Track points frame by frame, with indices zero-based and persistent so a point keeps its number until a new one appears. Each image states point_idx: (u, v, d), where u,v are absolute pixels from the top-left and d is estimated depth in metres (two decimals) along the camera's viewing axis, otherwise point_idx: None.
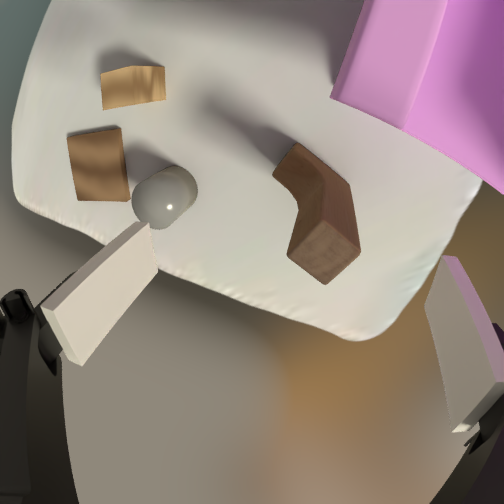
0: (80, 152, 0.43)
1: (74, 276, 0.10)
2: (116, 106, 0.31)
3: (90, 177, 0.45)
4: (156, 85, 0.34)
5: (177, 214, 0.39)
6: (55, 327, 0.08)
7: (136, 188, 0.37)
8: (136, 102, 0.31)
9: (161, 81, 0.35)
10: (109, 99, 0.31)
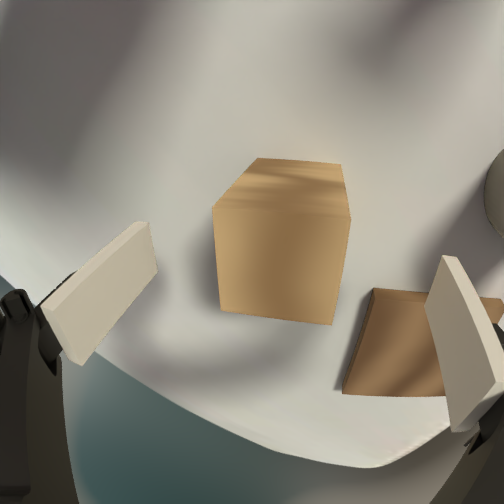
0: (381, 377, 0.23)
1: (74, 276, 0.10)
2: (336, 282, 0.11)
3: (432, 368, 0.22)
4: (299, 170, 0.15)
5: None
6: (55, 326, 0.08)
7: None
8: (343, 211, 0.11)
9: (292, 164, 0.16)
10: (306, 301, 0.12)
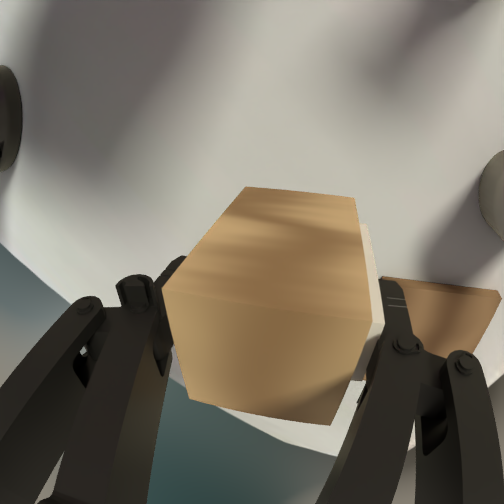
0: None
1: None
2: (341, 388, 0.08)
3: None
4: (299, 211, 0.11)
5: None
6: None
7: None
8: (361, 301, 0.07)
9: (290, 198, 0.13)
10: (298, 404, 0.08)
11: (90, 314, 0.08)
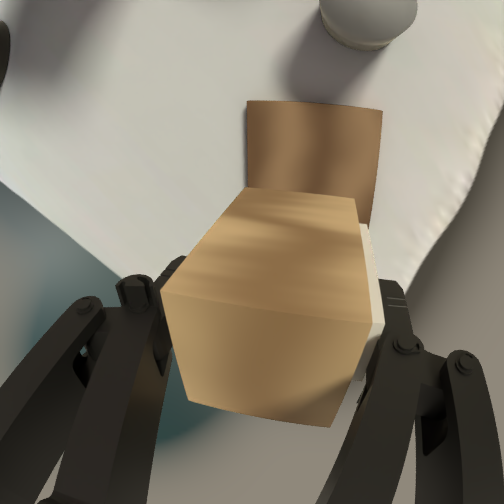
0: None
1: None
2: (340, 390, 0.07)
3: (328, 183, 0.27)
4: (299, 211, 0.11)
5: None
6: None
7: (335, 17, 0.15)
8: (361, 304, 0.07)
9: (290, 199, 0.12)
10: (298, 406, 0.08)
11: (90, 314, 0.08)
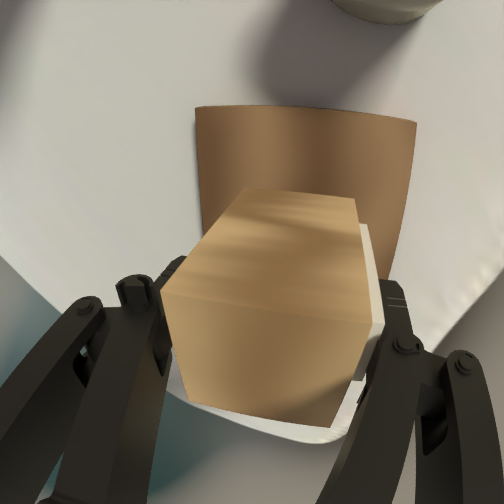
0: None
1: None
2: (340, 391, 0.07)
3: None
4: (299, 211, 0.11)
5: None
6: None
7: None
8: (361, 304, 0.07)
9: (290, 199, 0.12)
10: (298, 406, 0.08)
11: (90, 314, 0.08)
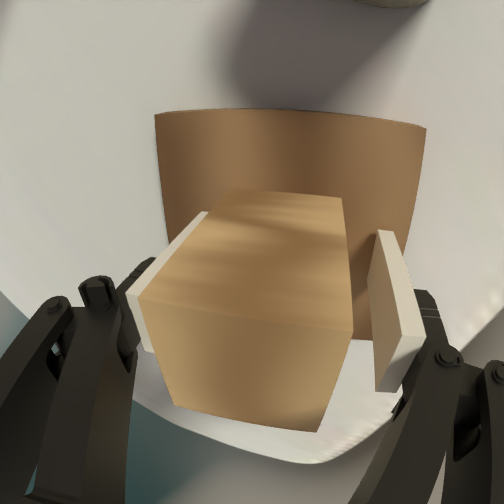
0: None
1: (156, 262, 0.10)
2: (324, 397, 0.07)
3: None
4: (282, 212, 0.11)
5: None
6: (140, 315, 0.09)
7: None
8: (342, 310, 0.07)
9: (275, 199, 0.12)
10: (282, 411, 0.08)
11: (59, 312, 0.08)
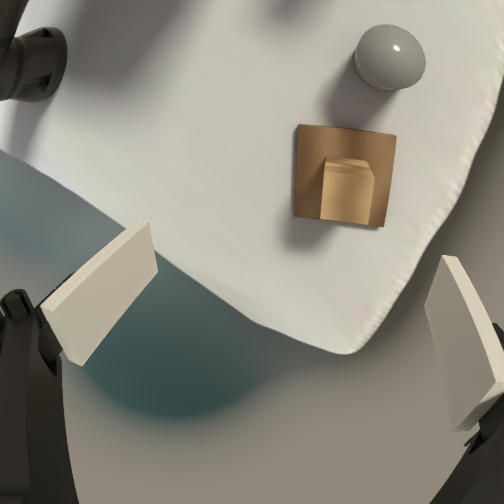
0: (319, 196, 0.37)
1: (74, 276, 0.10)
2: (369, 203, 0.28)
3: None
4: (349, 162, 0.32)
5: None
6: (55, 326, 0.08)
7: (369, 73, 0.24)
8: (371, 175, 0.27)
9: (344, 159, 0.33)
10: (357, 212, 0.29)
11: None
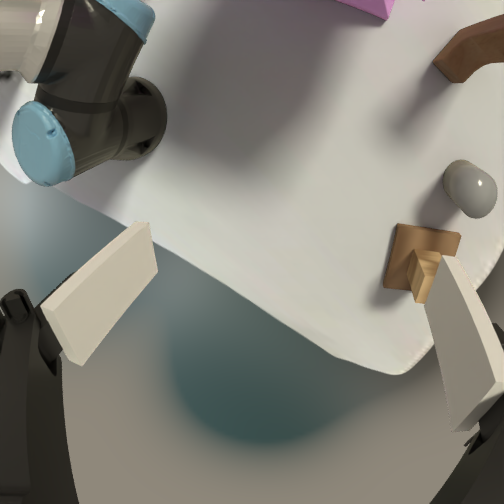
0: (403, 274, 0.48)
1: (74, 276, 0.10)
2: None
3: None
4: (431, 257, 0.42)
5: (488, 174, 0.31)
6: (55, 326, 0.08)
7: (462, 207, 0.34)
8: None
9: (426, 253, 0.44)
10: None
11: None
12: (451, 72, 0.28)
